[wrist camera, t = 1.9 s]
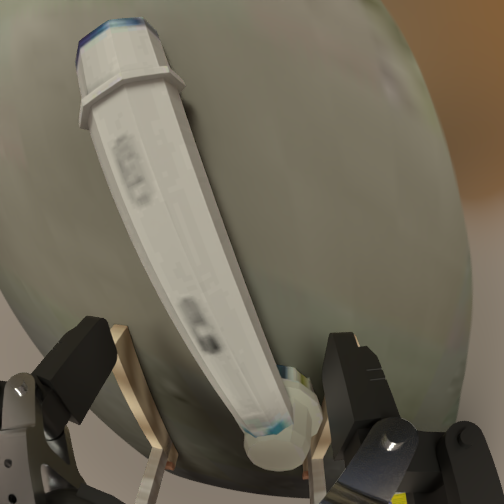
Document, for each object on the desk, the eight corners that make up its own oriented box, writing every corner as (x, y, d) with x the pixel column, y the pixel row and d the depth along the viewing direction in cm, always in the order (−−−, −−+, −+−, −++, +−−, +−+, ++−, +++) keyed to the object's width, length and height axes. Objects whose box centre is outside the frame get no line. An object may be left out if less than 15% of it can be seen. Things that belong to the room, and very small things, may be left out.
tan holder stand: (111, 323, 16) (15, 475, 5) (359, 334, 15) (419, 530, 4) (167, 452, 23) (142, 544, 11) (314, 461, 22) (320, 559, 11)
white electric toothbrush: (145, -8, 6) (334, 484, 11) (195, 52, 12) (326, 411, 17) (44, 65, 7) (249, 495, 12) (118, 93, 13) (259, 424, 18)
